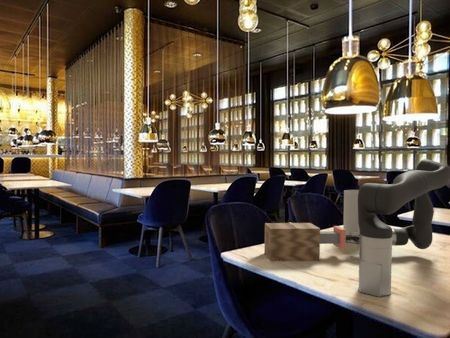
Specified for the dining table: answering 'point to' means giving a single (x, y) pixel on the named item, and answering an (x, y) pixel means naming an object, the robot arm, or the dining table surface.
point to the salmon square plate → (334, 237)
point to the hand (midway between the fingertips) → (341, 237)
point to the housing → (292, 242)
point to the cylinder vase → (351, 212)
